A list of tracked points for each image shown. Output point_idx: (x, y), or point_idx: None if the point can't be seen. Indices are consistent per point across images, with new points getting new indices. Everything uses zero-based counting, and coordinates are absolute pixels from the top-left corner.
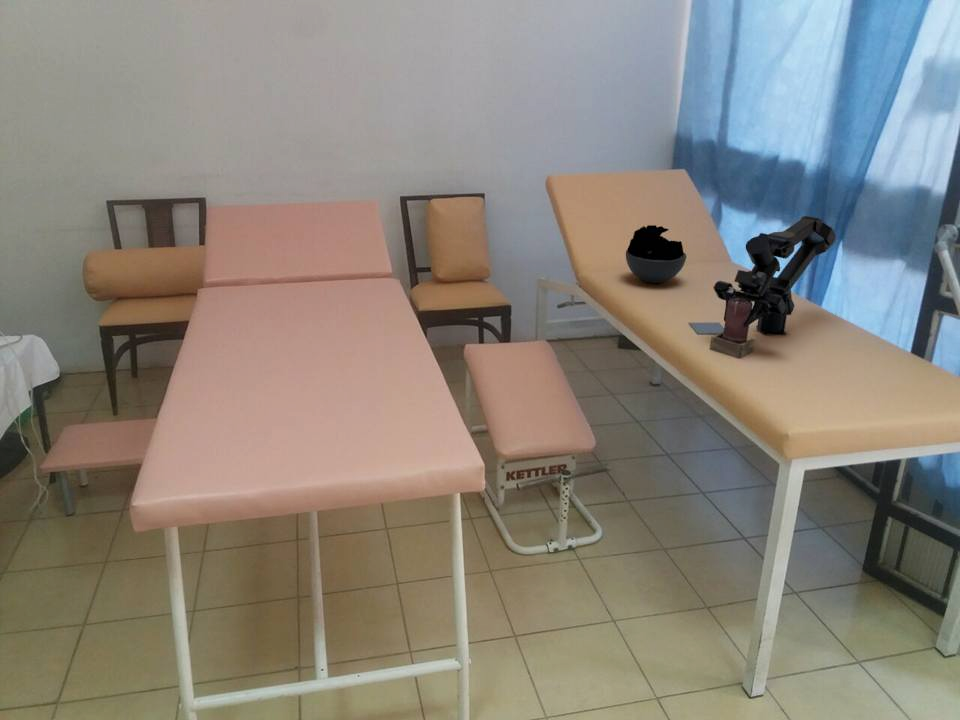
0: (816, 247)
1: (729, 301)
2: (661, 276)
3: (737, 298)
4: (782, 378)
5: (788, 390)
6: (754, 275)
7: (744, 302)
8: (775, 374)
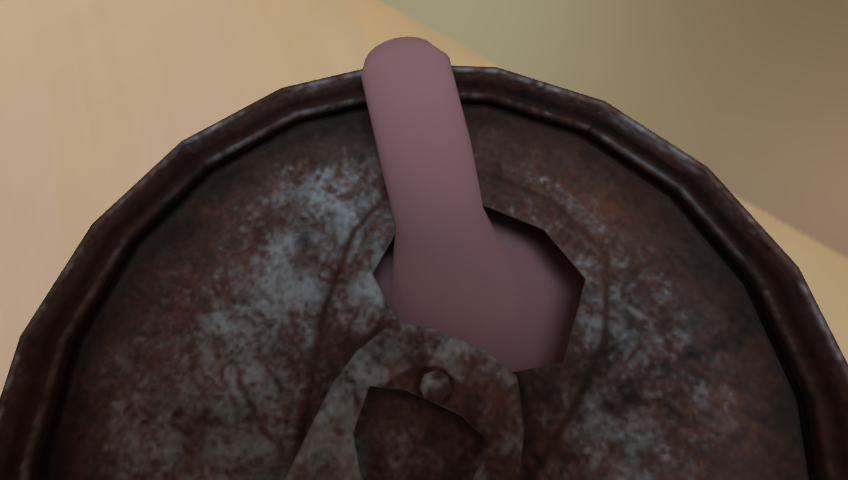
0: None
1: (688, 189)
2: None
3: None
4: (55, 139)
5: (10, 31)
6: None
7: (244, 374)
8: (97, 163)
